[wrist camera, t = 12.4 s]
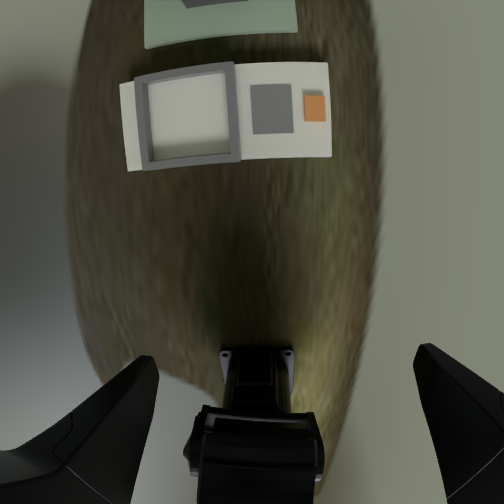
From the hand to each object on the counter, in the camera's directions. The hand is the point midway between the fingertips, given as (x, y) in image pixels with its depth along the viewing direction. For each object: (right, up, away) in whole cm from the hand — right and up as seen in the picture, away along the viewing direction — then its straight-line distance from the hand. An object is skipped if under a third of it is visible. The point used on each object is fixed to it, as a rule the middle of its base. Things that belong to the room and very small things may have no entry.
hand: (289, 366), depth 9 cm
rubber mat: (-4, +22, +5) cm, 22 cm away
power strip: (-3, +12, +9) cm, 16 cm away
